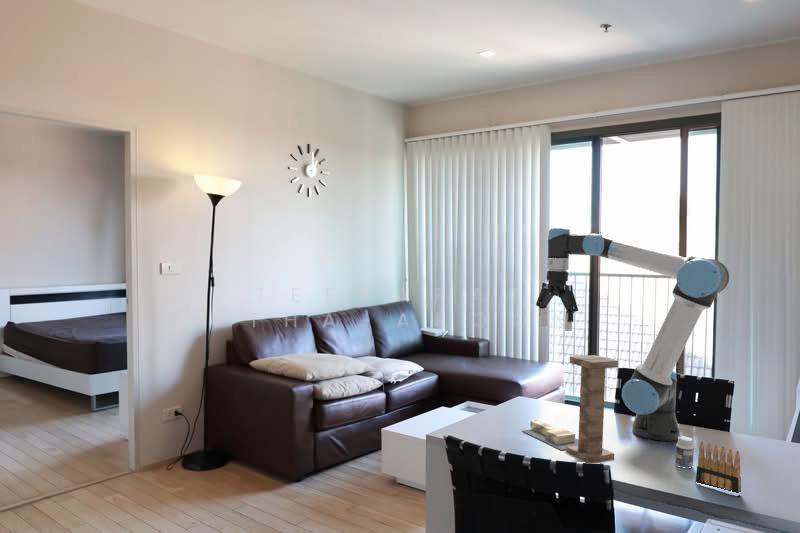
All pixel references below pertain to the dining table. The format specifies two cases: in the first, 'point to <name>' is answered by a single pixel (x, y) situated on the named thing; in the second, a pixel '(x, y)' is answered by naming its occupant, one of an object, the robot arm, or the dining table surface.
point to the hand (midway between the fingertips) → (555, 328)
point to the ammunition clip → (719, 469)
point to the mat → (544, 439)
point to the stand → (591, 408)
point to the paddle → (553, 432)
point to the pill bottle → (684, 452)
